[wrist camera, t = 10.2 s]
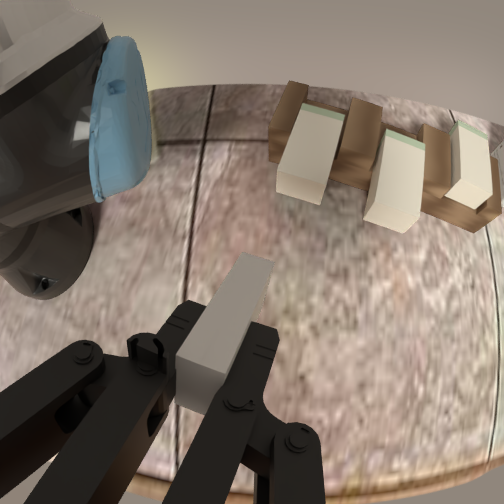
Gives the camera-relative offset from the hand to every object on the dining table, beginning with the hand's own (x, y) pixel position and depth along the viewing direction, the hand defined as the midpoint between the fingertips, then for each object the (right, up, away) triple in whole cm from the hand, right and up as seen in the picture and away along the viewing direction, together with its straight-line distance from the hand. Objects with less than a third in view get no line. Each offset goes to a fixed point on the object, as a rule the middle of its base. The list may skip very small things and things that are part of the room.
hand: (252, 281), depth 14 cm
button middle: (+14, +8, +16) cm, 23 cm away
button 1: (+25, +11, +16) cm, 32 cm away
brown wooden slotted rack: (+17, +12, +21) cm, 29 cm away
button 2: (+6, +11, +17) cm, 21 cm away
